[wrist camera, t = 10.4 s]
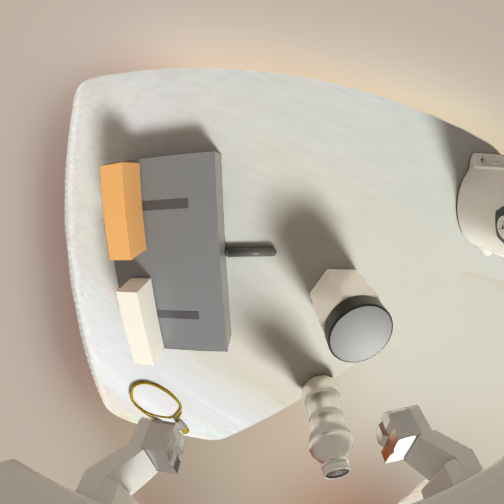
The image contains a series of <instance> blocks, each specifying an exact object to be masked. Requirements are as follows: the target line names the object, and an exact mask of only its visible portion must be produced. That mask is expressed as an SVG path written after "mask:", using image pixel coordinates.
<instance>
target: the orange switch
mask: <svg viewBox="0 0 504 504" xmlns="http://www.w3.org/2000/svg"><path fill="white" fill-rule="evenodd" d="M100 177H101V192H102V204H103V214H104V223H105V231H106V238H107V245H108V252H109V258H110V260H132V259H134V258H135V257H136V256H138V255H139V254H141V253H142V252H143V251H145V250H146V249H147V247H146V239H145V230H144V220H143V210H142V197H141V183H140V163H127V162H121V163H115V164H109V165H104V166H100Z"/></svg>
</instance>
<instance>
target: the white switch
mask: <svg viewBox="0 0 504 504" xmlns="http://www.w3.org/2000/svg"><path fill="white" fill-rule="evenodd" d="M116 294H117V299H118V303H119V307H120V312H121V316H122V320H123V324H124V328H125V331H126V335H127V339H128V342H129V346H130V349H131V353H132V356H133V359H134V362H135V363H136V364H143V365H152V366H154V365H155V363H156V361H157V359H158V357H159V355H160V354H161V352H162V350H163V348H164V344H163V340H162V335H161V331H160V326H159V321H158V316H157V310H156V305H155V300H154V294H153V288H152V282H151V278H131V279H130V280H129V281H127V282H126V283H125V284H124V285H123V286H122V287H121V288H120V289H118V290H117V291H116Z"/></svg>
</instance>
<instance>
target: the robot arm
mask: <svg viewBox="0 0 504 504" xmlns="http://www.w3.org/2000/svg"><path fill="white" fill-rule="evenodd" d="M457 212H458V220H459V225H460V228H461V231H462V233H463V235H464V236H465V238H466V239H467V240H468V241H469V242H470V243H471V244H473V245H475V246H477V247H479V249H480V250H481V252H482V253H483V255H485V256H490V255H491V254H493V253H494V254H497V255H500V256H503V257H504V155H497V154H486V153H473V154H472V156H471V160H470V165H469V170H468V172H467V174H466V175H465V177H464V179H463V181H462V184H461V187H460V190H459V195H458V203H457ZM179 429H180V427H179V424H178V423H175V422H168V421H161V420H155V419H150V418H144V417H142V418H141V419H140V420H139V422H138V424H137V427H136V429H135V431H134V434H133V436H132V438H131V441H130V443H129V446H126V445H125V446H124V447H122V448H120V449H119V450H117V451H116V452H114V453H112V454H111V455H110V456H108V457H106V458H105V459H103V460H101V461H100V462H98V463H96V464H95V465H93V466H91V467H89V468H88V469H86V471H85V473H84V475H83V477H82V479H81V481H80V483H79V485H78V487H77V489H76V492H74V491H72V490H70V489H68V488H66V487H64V486H62V485H60V484H58V483H56V482H54V481H52V480H50V479H48V478H47V477H45V476H43V475H41V474H39V473H38V472H36V471H34V470H32V469H31V468H29V467H28V466H26V465H24V464H23V463H21V462H19V461H17V460H15V459H11V460H7V461H4V462H1V463H0V504H139V503H138V502H137V501H136V500H135V499H134V498H133V497H132V496H131V495H132V494H134V493H135V492H136V491H137V490H138V489H139V488H141V487H142V486H143V485H144V484H145V483H146V482H147V481H149V479H151V478H152V477H153V476H154V475H155V474H156V473H157V472H158V471H161V472H167V473H174V474H178V470H179V466H180V460H179V458H178V457H179V456H180V455H181V454H182V453H183V450H184V437H183V434H182V433H180V432H179ZM376 436H377V441H378V444H380V445H381V446H382V447H383V449H382V451H381V452H382V455H383V458H384V461H385V463H389V462H393V461H397V460H400V459H403V460H404V461H406V462H407V463H408V464H409V465H410V466H411V467H413V468H414V469H415V470H417V471H418V472H419V473H420V474H422V475H423V476H424V477H425V478H427V479H428V480H429V482H428V483H427V484H426V485H425V486H424V488H423V489H422V490H421V491H422V494H423V497H424V499H423V500H420V501H418V502H415V503H413V504H504V457H502V458H501V459H499V460H498V461H496V462H495V463H493V464H492V465H490V466H488V467H487V468H485V469H484V470H483V469H482V467H481V465H480V463H479V461H478V459H477V458H476V456H475V454H474V452H473V450H472V449H470V448H468V447H466V446H464V445H462V444H460V443H458V442H456V441H454V440H453V439H451V438H449V437H447V436H445V435H443V434H442V433H440V432H438V431H436V430H433V431H432V430H431V428H430V426H429V424H428V422H427V421H426V418H425V417H424V415H423V414H422V411H421V409H420V408H419V406H418V405H413V406H409V407H406V408H405V407H404V408H401V409H397V410H393V411H389V412H385V413H384V414H383V415H382V422H381V423H380V424H379V425H378V427H377V434H376Z"/></svg>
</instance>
